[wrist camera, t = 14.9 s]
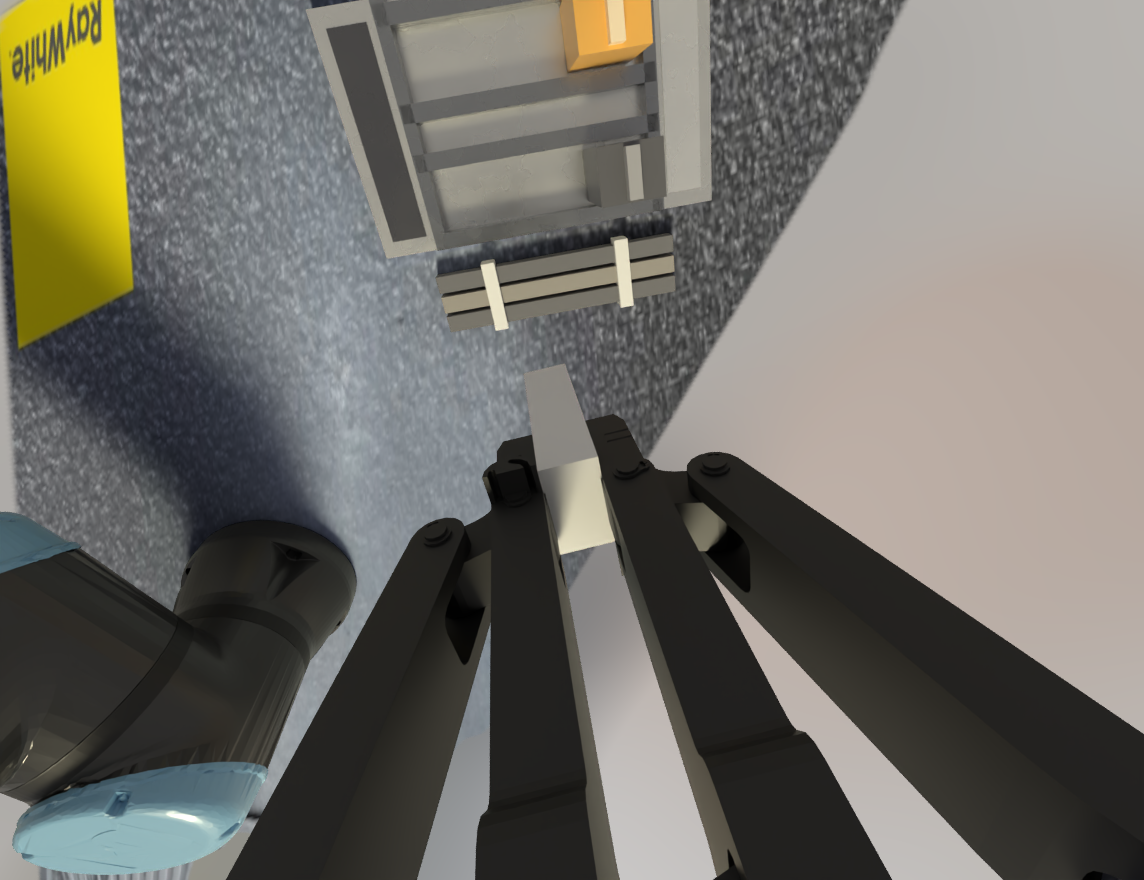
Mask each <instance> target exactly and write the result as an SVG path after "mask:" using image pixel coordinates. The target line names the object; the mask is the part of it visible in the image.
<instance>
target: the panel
mask: <svg viewBox="0 0 1144 880" xmlns="http://www.w3.org/2000/svg"><path fill="white" fill-rule="evenodd" d="M561 2H562V0H359V1H353V2H347V3H341V4H335V5H329V6H324V7H318V8H312V9H306V12H307V15H308V18H309V21H310V24H311V27H312V30H313V33H314V37H315V40H316V43H317V46H318V49H319V52H320V55H321V58H322V61H323V64H324V67H325V70H326V73H327V76H328V79H329V82H330V86H331V89H332V92H333V95H334V98H335V101H336V104H337V107H338V110H339V113H340V116H341V119H342V122H343V125H344V128H345V131H346V135H347V138H348V141H349V144H350V147H351V150H352V153H353V156H354V159H355V162H356V165H357V168H358V171H359V174H360V177H361V180H362V184H363V187H364V190H365V193H366V196H367V199H368V202H369V205H370V208H371V211H372V214H373V217H374V220H375V223H376V226H377V229H378V233H379V236H380V239H381V242H382V245H383V248H384V251H385V254H386V257H387V259H388V258H394V257H399V256H405V255H411V254H416V253H422V252H427V251H433V250H437V251H439V250H444V249H450V248H455V247H461V246H466V245H472V244H478V243H483V242H489V241H494V240H500V239H505V238H511V237H516V236H522V235H527V234H533V233H538V232H544V231H550V230H555V229H561V228H566V227H572V226H577V225H583V224H588V223H594V222H599V221H605V220H610V219H616V218H621V217H627V216H633V215H638V214H644V213H649V212H655V211H660V210H664V209H665V208H671V207H676V206H682V205H687V204H693V203H698V202H704V201H709V200H711V98H710V0H651V15H652V33H653V43H652V44H651V45H650V46H649V47H647V48H646V49H645V50H644V51H642V52H641V53H640V54H639V55H638V56H636V57H635V58H634V59H633V60H631V61H630V62H627V63H621V64H616V65H610V66H604V67H598V68H593V69H587V70H581V71H576V72H570V73H568V71H567V63H566V55H565V48H564V40H563V32H562V24H561V16H560V5H561ZM658 136H664V152H665V172H666V192H667V197H662V198H656V199H651V200H645V201H640V202H634V203H628V204H623V205H617V206H612V207H606V208H601V207H599V206H597V205H595V204H593V203H591V202H589V201H588V193H587V184H586V176H585V168H584V160H583V152H582V150H583V149H588V148H594V147H599V146H605V145H611V144H616V143H622V142H628V141H633V140H639V139H645V138H651V137H658Z"/></svg>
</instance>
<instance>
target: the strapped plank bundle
mask: <svg viewBox="0 0 1144 880" xmlns="http://www.w3.org/2000/svg"><path fill="white" fill-rule="evenodd" d="M610 239H611V243H610V244H604V245H599V246H593V247H588V248H582V249H577V250H571V251H566V252H560V253H555V254H549V255H544V256H538V257H533V258H527V259H522V260H516V261H511V262H505V263H500V264H496V263H495V259H491V260H485V261H481V267H478V268H472V269H467V270H461V271H456V272H450V273H445V274H439V275H437V277H436V281H437V285H438V288H439V292H440V294H443V296H442V298H441V299H442V302H443V306H444V309H445V313H448V316H447V320H448V323H449V327H450V330H451V332H455V331H461V330H466V329H472V328H477V327H483V326H488V325H494V324H495V328H496V331H497V330H502V329H508V328H509V322H510V321H515V320H521V319H526V318H532V317H537V316H542V315H548V314H553V313H559V312H564V311H570V310H575V309H581V308H586V307H591V306H597V305H602V304H608V303H613V302H617V303H618V304H619V305H620V307H621V308H622V307H627V306H633V299H635V298H640V297H646V296H651V295H657V294H662V293H668V292H673V291H675V276H674V275H673V274H672V273H670V272H674V256H673V255H672V254H670V253H669V252H673V235H672V234H670V233H665V234H659V235H654V236H648V237H643V238H637V239H632V240H628V238H626V237H625V236H618V237H612V238H610ZM663 253H667V254H663ZM658 254H662V255H658ZM652 255H656V256H652ZM647 256H651V257H647ZM641 257H645V258H641ZM636 258H640V259H636ZM630 259H634V260H630ZM608 263H612V264H608ZM603 264H607V265H603ZM597 265H602V266H597ZM592 266H596V267H592ZM586 267H591V268H586ZM581 268H585V269H581ZM575 269H580V270H575ZM570 270H574V271H570ZM564 271H569V272H564ZM559 272H563V273H559ZM553 273H558V274H553ZM665 273H666V274H665ZM548 274H552V275H548ZM659 274H660V275H659ZM542 275H547V276H542ZM654 275H655V276H654ZM537 276H541V277H537ZM648 276H649V277H648ZM531 277H536V278H531ZM643 277H644V278H643ZM526 278H530V279H526ZM637 278H638V279H637ZM520 279H525V280H520ZM632 279H633V280H632ZM515 280H519V281H515ZM510 281H514V282H510ZM504 282H508V283H504ZM500 283H503V284H500ZM610 283H611V284H610ZM599 285H600V286H599ZM482 286H486V287H482ZM594 286H595V287H594ZM477 287H481V288H477ZM588 287H589V288H588ZM471 288H475V289H471ZM583 288H584V289H583ZM466 289H470V290H466ZM577 289H578V290H577ZM460 290H464V291H460ZM572 290H573V291H572ZM455 291H459V292H455ZM566 291H567V292H566ZM449 292H453V293H449ZM561 292H562V293H561ZM444 293H448V294H444ZM550 294H551V295H550ZM539 296H540V297H539ZM528 298H529V299H528ZM523 299H524V300H523ZM517 300H518V301H517ZM512 301H513V302H512ZM506 302H507V303H506ZM479 307H480V308H479ZM468 309H469V310H468ZM457 311H458V312H457ZM452 312H453V313H452Z"/></svg>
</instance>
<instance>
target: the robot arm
mask: <svg viewBox="0 0 1144 880" xmlns="http://www.w3.org/2000/svg"><path fill="white" fill-rule="evenodd" d="M524 380H525V387H526V394H527V401H528V408H529V415H530V422H531V430H532V435H529V436H525V437H521V438H516V439H512V440H508V441H504V442H503V443H502V445H501V446H500V448H499V449H498V451H497V462H496V463H494V464H492V465H490V466H489V467H488V468H487V469H486V470H485V471H484V474H483V477H482V479H483V482H484V485H485V487H486V490H487V493H488V496H489V499H490V502H491V511H490V512H489V513H488V514H486V515H485V516H484V517H482V518H480V519H479V520H477V521H475V522H473V523H471V524H468V525H466V526H464V525H463V523H462V521H460V520H458V519H456V518H443V519H438V520H435V521H432V522H430V523H428V524H426V525H425V526H423V527H422V528H421V529H419V530H418V531H417V532H416V533H415V535H414V536H413V537H412V538H411V540H410V542H409V544H408V546H407V548H406V550H405V551H404V553H403V555H402V557H401V559H400V561H399V562H398V564H397V566H396V568H395V570H394V572H393V573H392V575H391V577H390V579H389V581H388V583H387V584H386V586H385V588H384V590H383V592H382V594H381V596H380V597H379V599H378V601H377V603H376V605H375V607H374V608H373V610H372V612H371V614H370V616H369V618H368V619H367V621H366V623H365V625H364V627H363V629H362V630H361V632H360V634H359V636H358V638H357V640H356V641H355V643H354V645H353V647H352V649H351V651H350V653H349V654H348V656H347V658H346V660H345V662H344V664H343V665H342V667H341V669H340V671H339V673H338V675H337V676H336V678H335V680H334V682H333V684H332V686H331V687H330V689H329V691H328V693H327V695H326V697H325V699H324V700H323V702H322V704H321V706H320V708H319V710H318V711H317V713H316V715H315V717H314V719H313V721H312V722H311V724H310V726H309V728H308V730H307V732H306V733H305V735H304V737H303V739H302V741H301V743H300V744H299V746H298V748H297V750H296V752H295V754H294V756H293V757H292V759H291V761H290V763H289V765H288V767H287V768H286V770H285V772H284V774H283V776H282V778H281V779H280V781H279V783H278V785H277V787H276V789H275V790H274V792H273V794H272V796H271V798H270V800H269V802H268V803H267V805H266V807H265V809H264V811H263V813H262V814H261V816H260V818H259V820H258V822H257V824H256V825H255V827H254V829H253V831H252V833H251V835H250V837H249V838H248V840H247V842H246V844H245V846H244V847H243V849H242V851H241V853H240V855H239V857H238V859H237V861H236V862H235V864H234V866H233V868H232V870H231V871H230V873H229V875H228V877H227V879H226V880H417V877H418V873H419V870H420V867H421V863H422V859H423V856H424V852H425V849H426V846H427V842H428V839H429V835H430V832H431V828H432V825H433V821H434V818H435V814H436V811H437V807H438V803H439V800H440V797H441V793H442V790H443V786H444V782H445V779H446V776H447V772H448V769H449V765H450V762H451V758H452V755H453V751H454V748H455V744H456V741H457V737H458V734H459V730H460V727H461V723H462V720H463V716H464V713H465V709H466V706H467V702H468V699H469V695H470V692H471V688H472V685H473V681H474V678H475V674H476V671H477V667H478V664H479V660H480V657H481V653H482V650H483V646H484V643H485V640H486V636H487V633H488V629H489V626H490V622H491V655H490V796H489V805H488V809H487V811H486V812H485V813H484V814H483V815H482V816H481V818H480V821H479V825H478V830H477V843H476V869H475V880H620V878H619V874H618V869H617V864H616V859H615V854H614V848H613V842H612V837H611V831H610V826H609V820H608V814H607V809H606V803H605V797H604V792H603V786H602V780H601V775H600V769H599V764H598V758H597V752H596V747H595V741H594V735H593V730H592V724H591V718H590V713H589V707H588V701H587V696H586V691H585V685H584V679H583V673H582V667H581V662H580V656H579V650H578V645H577V639H576V634H575V628H574V622H573V617H572V611H571V605H570V599H569V594H568V588H567V583H566V577H565V571H564V567H563V563H562V559H561V556H560V555H561V554H565V553H569V552H573V551H577V550H582V549H586V548H590V547H594V546H598V545H602V544H606V543H610V542H614V541H615V543H616V548H617V553H618V558H619V563H620V568H621V573H622V576H623V575H624V576H625V579H626V582H627V585H628V589H629V592H630V595H631V598H632V601H633V604H634V608H635V611H636V614H637V617H638V620H639V624H640V627H641V630H642V633H643V636H644V639H645V642H646V646H647V649H648V652H649V655H650V659H651V662H652V665H653V668H654V671H655V674H656V677H657V680H658V684H659V687H660V690H661V693H662V697H663V700H664V703H665V706H666V709H667V712H668V716H669V719H670V722H671V725H672V729H673V732H674V735H675V738H676V741H677V744H678V747H679V750H680V754H681V757H682V760H683V764H684V767H685V770H686V773H687V776H688V779H689V783H690V786H691V789H692V792H693V795H694V798H695V802H696V805H697V808H698V811H699V814H700V818H701V821H702V824H703V827H704V830H705V834H706V837H707V840H708V844H709V848H710V851H711V855H712V859H713V863H714V867H715V871H716V875H717V877H716V878H715V879H714V880H892V879H891V877H890V875H889V873H888V871H887V870H886V868H885V866H884V864H883V863H882V861H881V859H880V857H879V855H878V854H877V852H876V850H875V848H874V846H873V844H872V843H871V841H870V839H869V837H868V835H867V834H866V832H865V830H864V828H863V826H862V825H861V823H860V821H859V820H858V818H857V816H856V814H855V812H854V811H853V809H852V807H851V805H850V803H849V801H848V800H847V798H846V796H845V794H844V792H843V791H842V789H841V787H840V785H839V783H838V782H837V780H836V778H835V776H834V775H833V773H832V771H831V769H830V767H829V765H828V764H827V762H826V760H825V758H824V757H823V755H822V754H821V752H820V750H819V749H818V747H817V746H816V744H815V743H814V741H813V740H812V739H811V738H810V737H809V736H808V735H807V733H806V732H802V731H798V730H796V729H795V728H794V727H793V726H792V724H791V723H790V721H789V719H788V718H787V716H786V714H785V712H784V710H783V708H782V707H781V705H780V703H779V701H778V699H777V697H776V695H775V693H774V691H773V689H772V688H771V686H770V684H769V682H768V680H767V678H766V676H765V674H764V672H763V671H762V669H761V667H760V665H759V663H758V661H757V659H756V658H755V656H754V654H753V652H752V650H751V648H750V646H749V644H748V643H747V640H746V639H745V637H744V635H743V633H742V631H741V629H740V627H739V625H738V623H737V622H736V620H735V618H734V616H733V614H732V612H731V611H730V609H729V606H728V605H727V603H726V601H725V599H724V597H723V595H722V593H721V592H720V589H719V588H718V586H717V584H716V582H715V580H714V578H713V576H712V574H711V572H712V573H713V574H714V576H715V577H716V578H717V579H718V580H719V581H720V582H721V583H722V584H723V585H724V586H725V587H726V588H727V589H728V590H729V592H730V593H731V594H732V595H733V596H734V597H735V598H736V599H737V600H738V601H739V602H740V603H741V604H742V605H743V606H744V607H745V609H746V610H747V611H748V612H749V613H750V614H751V615H752V616H753V617H754V618H755V619H756V620H757V621H758V622H759V623H760V624H761V625H762V626H763V628H764V629H765V630H766V631H767V632H768V633H769V634H770V635H771V636H772V637H773V638H774V639H775V640H776V641H777V642H778V643H779V644H780V646H781V647H782V648H783V649H784V650H785V651H787V653H788V654H789V655H790V656H791V657H792V658H793V659H794V660H795V661H796V663H797V664H799V666H800V667H801V668H802V669H803V670H804V671H805V672H806V673H807V674H808V675H809V676H810V677H811V678H812V679H813V680H814V682H815V683H816V684H817V685H818V686H819V687H820V688H821V689H822V690H823V691H824V692H825V693H826V694H827V695H828V696H829V697H830V699H831V700H832V701H833V702H834V703H835V704H836V705H837V706H838V707H839V708H840V709H841V710H842V711H843V712H844V713H845V714H846V715H847V716H848V717H849V719H851V721H852V722H853V723H854V724H855V725H856V726H857V727H858V728H859V729H860V730H861V731H862V732H863V733H864V735H865V736H866V737H867V738H868V739H869V740H870V741H871V742H872V743H873V744H874V745H875V746H876V747H877V748H878V749H879V750H880V751H881V753H882V754H883V755H884V756H885V757H886V758H887V759H888V760H889V761H890V762H891V763H892V764H893V765H894V766H895V767H896V768H897V769H898V770H899V772H900V773H901V774H902V775H903V776H904V777H905V778H906V779H907V780H908V781H909V782H910V783H911V784H912V785H913V786H914V787H915V789H916V790H917V791H918V792H919V793H920V794H921V795H922V796H923V797H924V798H925V799H926V800H927V801H928V802H929V803H930V804H931V805H932V807H933V808H934V809H935V810H936V811H937V812H938V813H939V814H940V815H941V816H942V817H943V818H944V819H945V820H946V821H947V822H948V823H949V825H951V827H952V828H953V829H954V830H955V831H956V832H957V833H958V834H959V835H960V836H961V837H962V838H963V839H964V840H965V841H966V843H968V845H969V846H970V847H971V848H972V849H973V850H974V851H975V852H976V853H977V854H978V855H979V856H980V857H981V858H982V859H983V860H984V861H985V862H986V863H987V864H988V865H989V866H990V867H991V868H992V869H993V870H994V871H995V872H996V873H997V874H998V875H999V876H1000V877H1001V878H1002V879H1003V880H1144V734H1143V733H1141V732H1140V731H1138V730H1137V729H1135V728H1134V727H1132V726H1131V725H1130V724H1128V723H1126V722H1125V721H1124V720H1122V719H1121V718H1119V717H1118V716H1116V715H1115V714H1113V713H1112V712H1110V711H1109V710H1107V709H1106V708H1105V707H1103V706H1102V705H1100V704H1099V703H1097V702H1096V701H1094V700H1093V699H1091V698H1090V697H1088V696H1087V695H1086V694H1084V693H1083V692H1081V691H1080V690H1078V689H1077V688H1075V687H1074V686H1072V685H1071V684H1069V683H1068V682H1066V681H1065V680H1064V679H1062V678H1061V677H1059V676H1058V675H1056V674H1055V673H1053V672H1052V671H1050V670H1049V669H1047V668H1046V667H1044V666H1043V665H1042V664H1040V663H1038V662H1037V661H1035V660H1034V659H1033V658H1031V657H1030V656H1028V655H1027V654H1025V653H1024V652H1022V651H1021V650H1019V649H1018V648H1017V647H1015V646H1014V645H1012V644H1011V643H1009V642H1008V641H1006V640H1005V639H1003V638H1002V637H1000V636H999V635H997V634H996V633H995V632H993V631H992V630H990V629H989V628H987V627H986V626H984V625H983V624H981V623H980V622H978V621H977V620H975V619H974V618H973V617H971V616H969V615H968V614H967V613H965V612H964V611H962V610H961V609H959V608H958V607H956V606H955V605H953V604H952V603H950V602H949V601H948V600H946V599H945V598H943V597H942V596H940V595H938V594H937V593H936V592H934V591H933V590H931V589H930V588H928V587H927V586H926V585H924V584H923V583H921V582H920V581H918V580H917V579H915V578H914V577H912V576H911V575H909V574H908V573H907V572H905V571H904V570H902V569H901V568H899V567H898V566H896V565H895V564H893V563H892V562H890V561H889V560H887V559H886V558H884V557H883V556H882V555H880V554H879V553H877V552H875V551H874V550H873V549H871V548H870V547H868V546H867V545H865V544H864V543H862V542H861V541H859V540H858V539H857V538H855V537H854V536H852V535H851V534H849V533H848V532H846V531H845V530H843V529H842V528H840V527H839V526H838V525H836V524H835V523H833V522H832V521H830V520H829V519H827V518H826V517H824V516H823V515H821V514H820V513H818V512H817V511H816V510H814V509H812V508H811V507H810V506H808V505H807V504H805V503H804V502H802V501H801V500H799V499H798V498H796V497H795V496H794V495H792V494H791V493H789V492H788V491H786V490H785V489H783V488H782V487H780V486H779V485H777V484H776V483H774V482H773V481H772V480H770V479H769V478H767V477H766V476H764V475H763V474H761V473H760V472H758V471H757V470H755V469H754V468H752V467H751V466H749V465H748V464H747V463H745V462H744V461H742V460H741V459H739V458H738V457H735V456H733V455H731V454H728V453H722V452H710V453H705V454H701V455H698V456H697V457H695V458H693V459H691V461H690V462H689V463H688V465H687V471H678V472H671V471H661V470H658V469H655V467H654V465H653V464H652V463H651V462H650V461H649V460H647V459H644V458H643V456H642V454H641V452H640V450H639V448H638V447H637V445H636V443H635V441H634V439H633V437H632V435H631V433H630V431H629V430H628V427H627V425H626V423H625V421H624V420H623V419H621V418H620V417H618V416H616V415H614V414H612V415H608V416H604V417H599V418H595V419H591V420H587V421H585V419H584V416H583V414H582V411H581V408H580V405H579V402H578V400H577V397H576V394H575V391H574V388H573V386H572V383H571V380H570V377H569V374H568V372H567V369H566V366H565V364H561V365H557V366H552V367H548V368H544V369H540V370H536V371H531V372H527V373H524ZM614 538H615V540H614ZM80 548H81V545H80V544H78V543H76V542H68V541H67V540H65V539H63V538H61V537H60V536H58V535H56V534H55V533H53V532H51V531H50V530H48V529H46V528H45V527H43V526H41V525H40V524H38V523H36V522H35V521H33V520H32V519H30V518H28V517H26V516H24V515H21V514H17V513H12V512H0V793H2V794H5V795H7V796H10V797H12V798H15V799H17V800H20V801H23V802H25V803H27V804H28V805H29V806H30V808H29V809H28V810H27V811H26V812H25V813H24V814H23V815H22V816H21V817H20V818H19V820H18V823H17V828H16V831H15V833H14V836H13V844H12V845H13V848H14V849H15V851H16V852H17V853H21V854H22V857H23V859H25V860H26V861H28V862H30V863H33V864H35V865H38V866H41V867H45V868H48V869H52V870H57V871H63V872H70V873H80V874H96V875H113V874H131V873H141V872H149V871H156V870H161V869H166V868H171V867H175V866H179V865H183V864H186V863H189V862H192V861H195V860H197V859H200V858H202V857H204V856H206V855H208V854H210V853H212V852H214V851H215V850H217V849H219V848H220V847H221V846H223V845H224V844H225V843H227V842H228V841H229V840H230V839H231V838H232V837H233V836H234V835H235V834H236V832H237V831H238V830H239V828H240V827H241V825H242V824H243V822H244V820H245V818H246V816H247V814H248V812H249V810H250V808H251V806H252V803H253V801H254V799H255V797H256V795H257V793H258V791H259V789H260V787H261V785H262V784H263V783H264V781H265V780H266V778H267V774H268V770H267V769H268V766H269V764H270V761H271V759H272V756H273V754H274V751H275V749H276V746H277V744H278V741H279V738H280V736H281V733H282V731H283V728H284V726H285V723H286V721H287V718H288V715H289V713H290V710H291V708H292V705H293V703H294V700H295V698H296V695H297V693H298V690H299V687H300V685H301V682H302V680H303V677H304V674H305V672H306V670H307V667H308V664H309V662H310V660H311V659H312V658H313V657H314V655H315V654H316V653H317V652H318V650H319V649H320V648H321V647H322V645H323V644H324V642H325V641H326V639H327V638H328V636H329V635H331V634H332V633H333V632H334V631H335V630H337V629H338V627H339V626H340V625H341V624H342V623H343V621H344V620H345V618H346V616H347V614H348V612H349V610H350V607H351V604H352V602H353V599H354V596H355V592H356V577H355V573H354V570H353V568H352V566H351V564H350V562H349V560H348V559H347V558H346V556H345V555H344V554H343V553H342V552H341V551H340V550H339V549H338V548H337V547H336V546H335V545H334V544H332V543H331V542H330V541H328V540H327V539H325V538H324V537H322V536H320V535H318V534H317V533H314V532H312V531H310V530H308V529H305V528H302V527H299V526H296V525H293V524H288V523H283V522H277V521H247V522H241V523H237V524H233V525H230V526H227V527H224V528H222V529H220V530H218V531H216V532H215V533H213V534H212V535H210V536H209V537H208V538H207V539H206V540H205V541H204V542H203V543H202V544H201V546H200V547H199V548H198V549H197V551H196V552H195V553H194V554H193V556H192V557H191V558H190V560H189V561H188V563H187V565H186V567H185V569H184V572H183V575H182V580H181V589H180V591H179V593H178V596H177V598H176V602H175V605H174V609H173V612H172V611H170V610H169V609H167V608H166V607H164V606H163V605H161V604H160V603H158V602H157V601H155V600H154V599H152V598H151V597H149V596H148V595H146V594H145V593H143V592H142V591H141V590H139V589H138V588H136V587H135V586H133V585H132V584H131V583H129V582H128V581H126V580H125V579H123V578H122V577H120V576H119V575H118V574H116V573H115V572H113V571H112V570H110V569H109V568H108V567H106V566H105V565H103V564H102V563H100V562H99V561H98V560H96V559H95V558H93V557H92V556H90V555H89V554H87V553H86V552H85V551H83V550H82V549H80ZM709 570H710V571H711V572H710V571H709Z"/></svg>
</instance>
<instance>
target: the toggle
mask: <svg viewBox="0 0 1144 880" xmlns="http://www.w3.org/2000/svg"><path fill="white" fill-rule="evenodd" d="M582 152H583V160H584V168H585V176H586V184H587V193H588V201H589V202H591V203H593V204H595V205H597V206H599V207H601V208H606V207H612V206H617V205H623V204H628V203H634V202H640V201H645V200H651V199H656V198H662V197H667V192H666V172H665V152H664V136H658V137H651V138H645V139H639V140H633V141H628V142H622V143H616V144H611V145H605V146H599V147H594V148H588V149H583V150H582Z"/></svg>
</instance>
